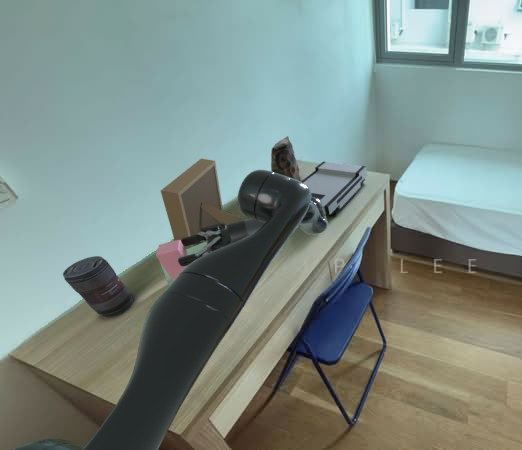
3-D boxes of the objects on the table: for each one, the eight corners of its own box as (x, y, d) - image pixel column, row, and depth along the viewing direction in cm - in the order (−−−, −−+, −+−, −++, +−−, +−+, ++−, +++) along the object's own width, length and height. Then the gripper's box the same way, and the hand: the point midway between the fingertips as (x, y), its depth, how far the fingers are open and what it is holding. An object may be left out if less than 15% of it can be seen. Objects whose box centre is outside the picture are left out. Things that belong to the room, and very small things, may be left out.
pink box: (195, 279, 79) (178, 249, 73) (175, 285, 77) (155, 255, 71) (196, 268, 82) (179, 239, 76) (177, 274, 80) (158, 244, 75)
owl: (299, 175, 145) (289, 133, 133) (308, 185, 136) (298, 142, 124) (272, 183, 140) (259, 140, 128) (279, 194, 131) (266, 149, 119)
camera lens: (138, 291, 87) (107, 251, 78) (134, 311, 81) (100, 270, 72) (103, 303, 84) (66, 262, 75) (96, 324, 78) (55, 282, 69)
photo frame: (181, 261, 97) (139, 191, 83) (213, 222, 115) (183, 159, 100) (228, 258, 97) (194, 189, 83) (253, 220, 115) (229, 157, 101)
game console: (283, 214, 117) (277, 195, 112) (326, 178, 142) (323, 161, 137) (331, 223, 111) (327, 203, 106) (367, 183, 136) (365, 166, 131)
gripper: (244, 208, 84) (176, 225, 79) (248, 236, 74) (170, 257, 68) (253, 230, 89) (189, 247, 83) (257, 259, 78) (185, 281, 73)
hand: (181, 252), depth 76 cm, fingers open, 8 cm apart
